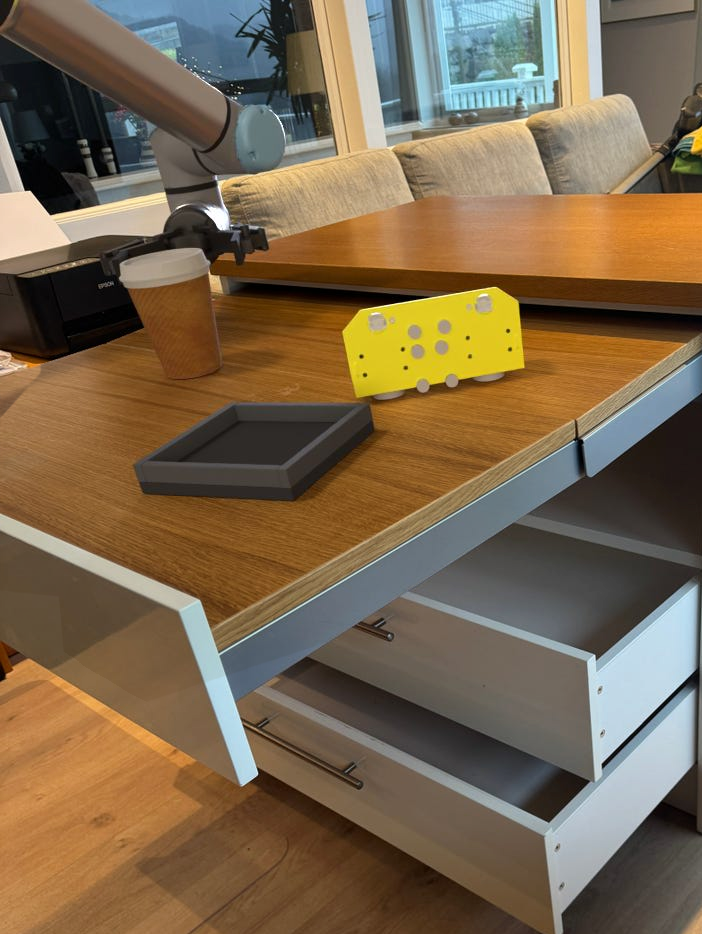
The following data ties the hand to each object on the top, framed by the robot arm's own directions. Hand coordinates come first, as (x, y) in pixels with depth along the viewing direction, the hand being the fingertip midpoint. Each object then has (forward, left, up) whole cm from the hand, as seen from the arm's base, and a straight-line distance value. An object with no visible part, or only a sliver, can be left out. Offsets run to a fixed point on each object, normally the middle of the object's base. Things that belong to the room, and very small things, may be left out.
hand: (178, 262), depth 103 cm
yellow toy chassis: (+37, -13, -10) cm, 40 cm away
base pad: (+29, -32, -10) cm, 44 cm away
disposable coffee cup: (+5, -8, -10) cm, 14 cm away
